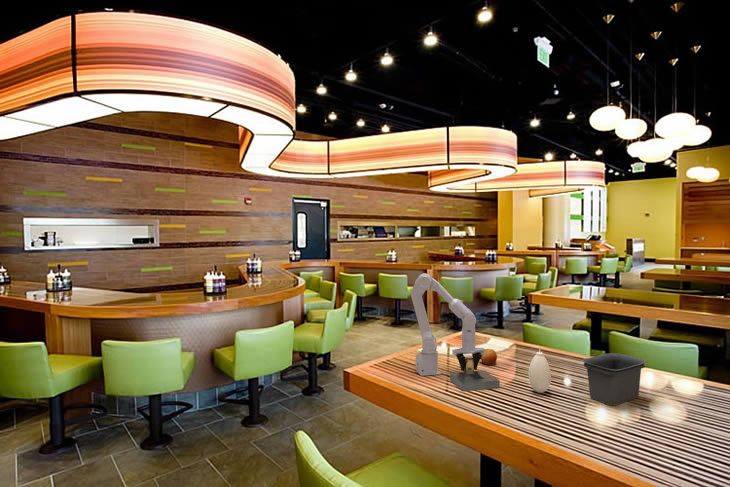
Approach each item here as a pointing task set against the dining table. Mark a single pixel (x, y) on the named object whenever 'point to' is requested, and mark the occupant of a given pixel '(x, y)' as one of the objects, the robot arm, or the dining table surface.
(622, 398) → the storage bin
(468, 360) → the bushing
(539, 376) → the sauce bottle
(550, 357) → the dining table surface
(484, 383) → the jig
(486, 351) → the fruit
